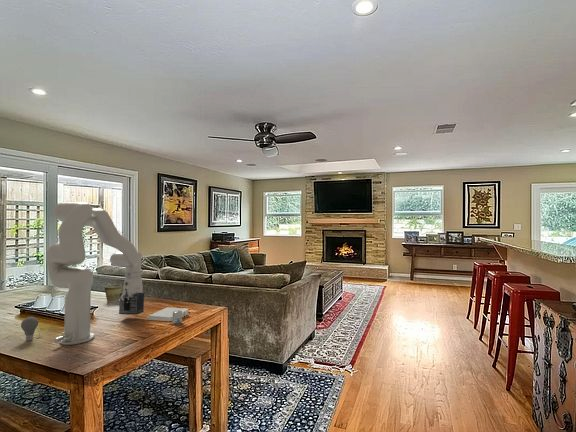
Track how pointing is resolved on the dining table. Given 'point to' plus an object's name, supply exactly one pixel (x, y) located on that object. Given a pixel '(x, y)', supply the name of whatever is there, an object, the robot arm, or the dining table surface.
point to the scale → (166, 314)
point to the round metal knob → (177, 317)
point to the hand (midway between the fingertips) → (131, 308)
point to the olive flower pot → (113, 293)
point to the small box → (133, 304)
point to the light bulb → (29, 327)
